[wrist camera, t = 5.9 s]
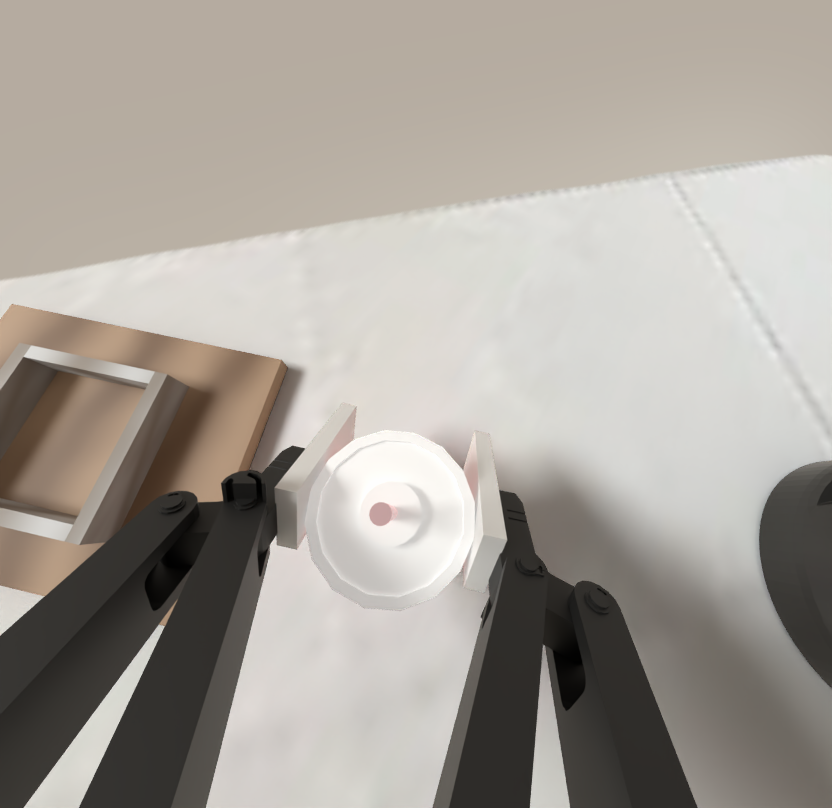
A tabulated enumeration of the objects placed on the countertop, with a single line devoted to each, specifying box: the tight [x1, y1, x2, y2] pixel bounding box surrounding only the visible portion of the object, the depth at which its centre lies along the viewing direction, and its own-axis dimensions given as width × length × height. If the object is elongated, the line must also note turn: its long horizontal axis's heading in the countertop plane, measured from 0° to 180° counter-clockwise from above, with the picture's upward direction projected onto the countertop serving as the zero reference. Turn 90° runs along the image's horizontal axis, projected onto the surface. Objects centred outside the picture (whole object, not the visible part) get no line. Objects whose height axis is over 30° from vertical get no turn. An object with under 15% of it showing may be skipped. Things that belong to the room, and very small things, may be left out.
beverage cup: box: [305, 430, 475, 611], centre depth 13 cm, size 6×6×14 cm
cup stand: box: [0, 304, 288, 626], centre depth 19 cm, size 20×16×3 cm
